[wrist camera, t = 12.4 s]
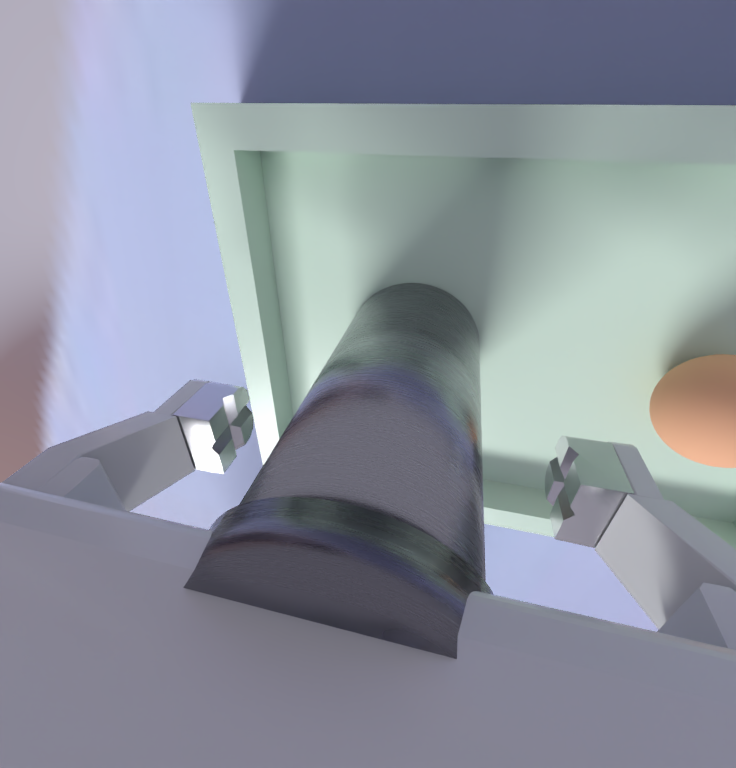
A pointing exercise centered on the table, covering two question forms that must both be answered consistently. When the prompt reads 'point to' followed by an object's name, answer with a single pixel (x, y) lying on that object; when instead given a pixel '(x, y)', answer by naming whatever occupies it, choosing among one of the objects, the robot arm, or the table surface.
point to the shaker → (371, 485)
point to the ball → (698, 410)
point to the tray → (490, 263)
